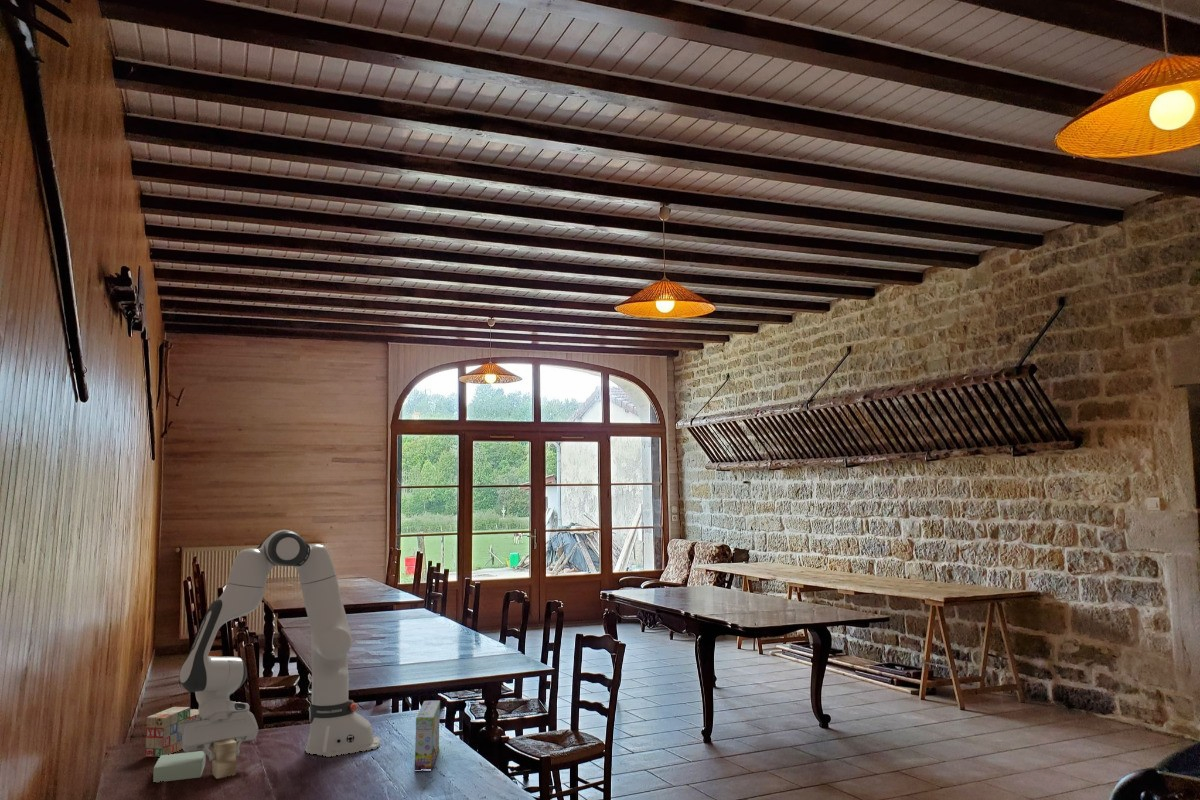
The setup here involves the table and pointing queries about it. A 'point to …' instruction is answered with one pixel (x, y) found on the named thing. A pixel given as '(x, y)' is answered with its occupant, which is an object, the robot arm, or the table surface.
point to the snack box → (427, 735)
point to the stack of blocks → (167, 730)
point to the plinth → (179, 766)
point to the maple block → (224, 758)
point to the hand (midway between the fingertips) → (225, 757)
